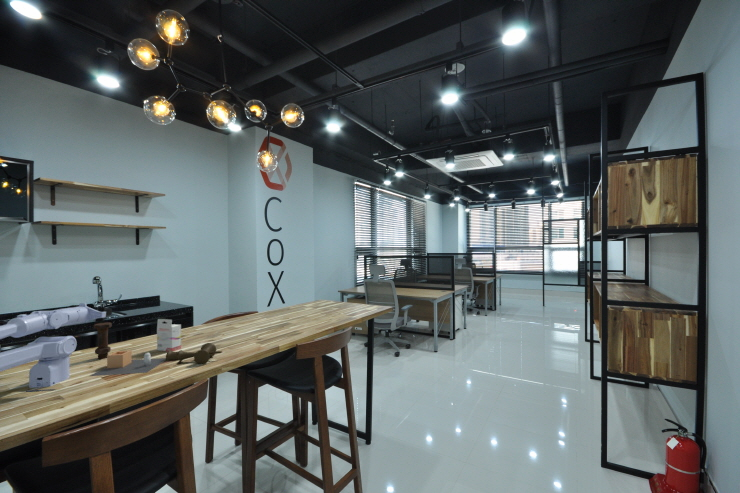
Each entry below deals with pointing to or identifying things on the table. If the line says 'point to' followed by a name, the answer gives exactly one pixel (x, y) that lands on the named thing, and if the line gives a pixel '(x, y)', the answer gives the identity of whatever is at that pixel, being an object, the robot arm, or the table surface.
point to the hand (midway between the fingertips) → (100, 311)
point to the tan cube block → (118, 359)
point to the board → (133, 366)
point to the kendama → (194, 354)
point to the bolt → (102, 340)
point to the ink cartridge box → (168, 335)
